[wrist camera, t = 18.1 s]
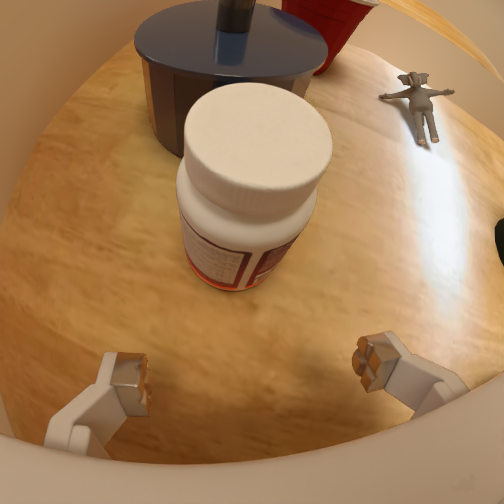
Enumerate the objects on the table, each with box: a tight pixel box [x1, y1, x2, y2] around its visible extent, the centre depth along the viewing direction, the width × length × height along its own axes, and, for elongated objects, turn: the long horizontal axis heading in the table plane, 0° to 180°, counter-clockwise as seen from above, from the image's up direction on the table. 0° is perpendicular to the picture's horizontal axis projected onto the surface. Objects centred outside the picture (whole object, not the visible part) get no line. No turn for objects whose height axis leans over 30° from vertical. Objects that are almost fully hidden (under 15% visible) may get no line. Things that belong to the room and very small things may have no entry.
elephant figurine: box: [379, 72, 455, 145], centre depth 26 cm, size 10×6×9 cm
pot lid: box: [134, 0, 328, 83], centre depth 15 cm, size 14×14×4 cm
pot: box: [142, 58, 313, 158], centre depth 20 cm, size 13×18×8 cm
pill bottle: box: [176, 83, 333, 291], centre depth 14 cm, size 6×6×11 cm
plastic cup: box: [282, 0, 379, 75], centre depth 24 cm, size 11×11×12 cm
